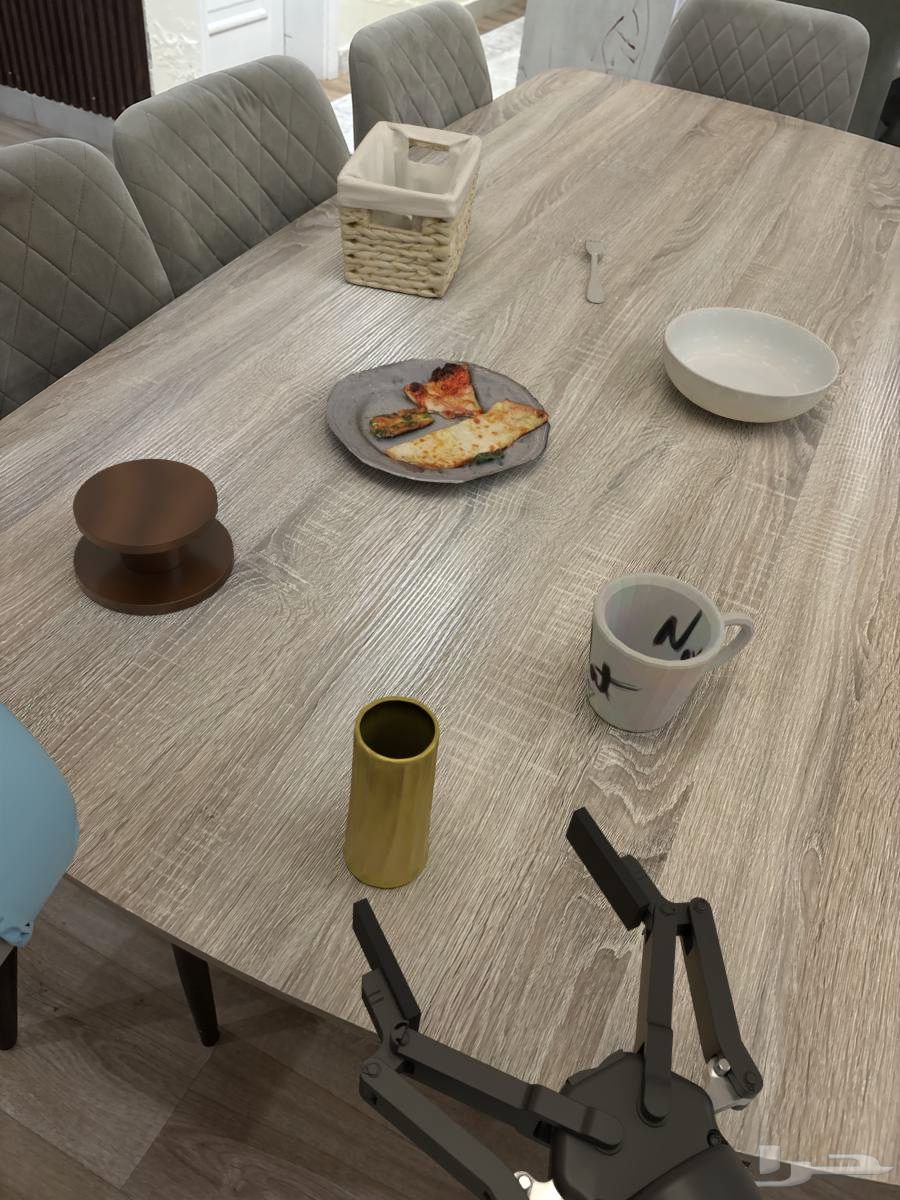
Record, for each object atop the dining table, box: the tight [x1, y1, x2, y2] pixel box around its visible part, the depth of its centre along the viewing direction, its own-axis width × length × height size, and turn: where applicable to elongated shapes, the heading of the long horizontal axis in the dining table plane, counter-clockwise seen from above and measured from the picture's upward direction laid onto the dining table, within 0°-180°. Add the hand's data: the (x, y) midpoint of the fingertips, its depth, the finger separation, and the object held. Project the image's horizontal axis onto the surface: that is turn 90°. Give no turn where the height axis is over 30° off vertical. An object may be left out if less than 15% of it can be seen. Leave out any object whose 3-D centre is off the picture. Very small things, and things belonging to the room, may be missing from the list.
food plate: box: [323, 357, 552, 484], centre depth 104 cm, size 25×23×4 cm
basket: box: [336, 120, 484, 298], centre depth 131 cm, size 24×16×15 cm
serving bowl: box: [661, 306, 840, 423], centre depth 115 cm, size 21×21×7 cm
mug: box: [586, 571, 756, 733], centre depth 77 cm, size 10×15×10 cm
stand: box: [72, 458, 235, 616], centre depth 84 cm, size 14×14×7 cm
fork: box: [585, 239, 606, 304], centre depth 139 cm, size 3×21×3 cm, turn 175°
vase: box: [342, 695, 441, 889], centre depth 62 cm, size 6×6×14 cm
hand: (471, 864), depth 52 cm, fingers open, 13 cm apart
